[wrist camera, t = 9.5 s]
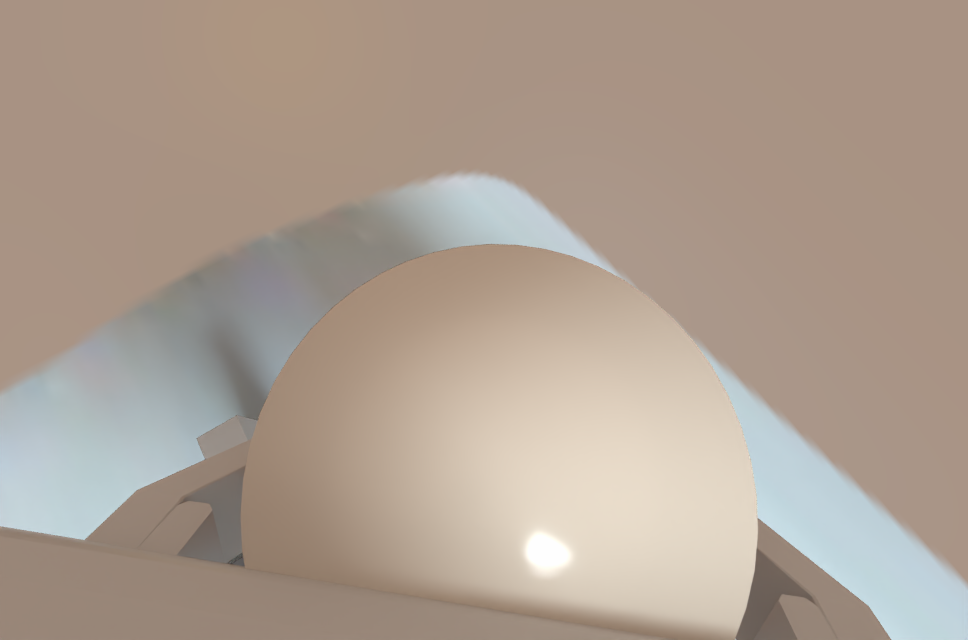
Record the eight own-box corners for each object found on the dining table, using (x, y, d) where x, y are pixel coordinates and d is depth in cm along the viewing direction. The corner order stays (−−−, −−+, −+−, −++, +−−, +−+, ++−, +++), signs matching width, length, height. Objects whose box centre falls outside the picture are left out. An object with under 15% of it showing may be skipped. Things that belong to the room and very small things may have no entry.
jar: (457, 631, 14) (393, 968, 4) (359, 440, 16) (169, 388, 6) (629, 507, 15) (873, 561, 6) (518, 343, 17) (559, 176, 7)
